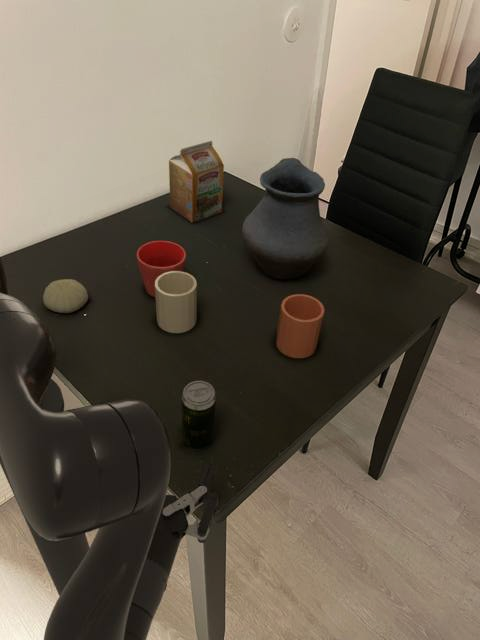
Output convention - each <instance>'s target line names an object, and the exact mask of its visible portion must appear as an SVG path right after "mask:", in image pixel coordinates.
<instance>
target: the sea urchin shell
mask: <svg viewBox="0 0 480 640" xmlns="http://www.w3.org/2000/svg"><path fill="white" fill-rule="evenodd" d="M88 299H89V294H88V290H87V289H86V288H85V287H84V285H83V284H82V283H81V282H78V280H76V279H72V278H71V279H70V278H69V279H66V278H65V279H64V278H63V279H57V280H54V281H51V282H50V283H49V284H48V286H46V288H45V289H44V292H43V296H42V301H43V305H44V307H46V308H47V310H50V311H52V312H56V313H59V314H73V312H76V311H78V310H80V309H81V308H82V307H84V306H85V304H86V303H88Z"/></svg>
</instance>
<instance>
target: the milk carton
mask: <svg viewBox="0 0 480 640" xmlns="http://www.w3.org/2000/svg"><path fill="white" fill-rule="evenodd" d="M224 171H225V164H224V162H223V160H222V158H221V157H220V155H219V153H218V152H217V150H216V149H215V147H214V146H213V141H212V140H208V141H204V142H201V143H196V144H194V145H193V144H192V145H190V146H186V147H182V148H180V149H179V154H176V155H173V156H172V157H170V158H169V159H168V176H169V177H168V178H169V207H170V208H171V209H172V210H173V211H175V212H177V213H178V214H179V215H181V216H182V217H184V218H185V219H187V220H188V221H189V222H191V223H192V224H193V223H195V222H198V221H201V220H203V219H206V218H209V217H212V216H214V215H217V214H220V213H222V212H223V193H224V174H225V173H224Z"/></svg>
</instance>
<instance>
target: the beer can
mask: <svg viewBox="0 0 480 640" xmlns="http://www.w3.org/2000/svg"><path fill="white" fill-rule="evenodd" d="M182 391H183V392H182V393H181V427H182V428H181V434H182V435H181V437H182V440H183V442H184V444H185V446H186V447H188V448H189V449H190V450H193V451H202V450H205V449H207V448H209V446H210V445H211V444H212V443H213V441H214V439H215V428H216V427H215V424H216V404H217V395H216V391H215V388H214V387H213V385H212V384H211V383H210V382H207V381H204V380H194V381H191V382H189V383H188V384H187V385H185V387H184V388H183V390H182Z"/></svg>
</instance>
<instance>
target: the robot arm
mask: <svg viewBox="0 0 480 640" xmlns="http://www.w3.org/2000/svg"><path fill="white" fill-rule="evenodd" d="M56 345H57V344H56V342H55V339H54V337H53V335H52V333H51V332H50V330H49V328H48V327H47V325H45V323H43V322H42V321H41V319H40V318H39V317H38V316H37V314H36V313H35V312H34V311H33V310H32V308H30V306H28V305H27V304H25V302H23V301H21V300H20V299H18V298H16V297H15V296H13V295H11V294H10V289H9V283H8V281H7V275H6V271H5V268H4V265H3V260H2V257H0V455H1V458H2V461H3V464H4V466H5V469H6V472H7V474H8V477H9V480H10V483H11V485H12V488H13V490H14V493H15V495H16V498H17V500H18V503H19V505H20V507H21V509H22V511H23V513H24V515H25V517H26V519H27V520H28V522H29V524H30V525H31V526H32V528H33V529H34V530H35V531H36V532H37V533H38V534H39V535H40V536H42V537H44V538H45V539H47V540H53V541H57V540H64V539H69V538H72V537H75V536H78V535H81V534H84V533H85V534H86V533H90V532H93V531H96V530H97V532H96V534H95V537H94V538H93V539H92V542H91V544H90V545H89V550H88V551H87V553H86V555H85V556H84V558H83V560H82V561H81V563H80V565H79V566H78V568H77V569H76V571H75V572H74V574H73V575H72V577H71V579H70V580H69V582H68V583H67V585H66V587H65V588H64V590H63V591H62V593H61V595H60V596H59V597H58V598H57V600H56V601H55V604H54V606H53V608H52V610H51V613H50V615H49V618H48V621H47V623H46V627H45V630H44V635H43V640H147V639H148V635H149V632H150V629H151V626H152V623H153V620H154V617H155V615H156V613H157V610H158V609H159V606H160V604H161V601H162V599H163V597H164V593H165V592H166V590H167V587H168V581H169V578H170V575H171V571H172V569H173V565H174V562H175V559H176V556H177V553H178V550H179V547H180V543H181V541H182V539H183V538H184V537H185V536H186V535H187V536H190V537H193V538H196V539H197V542H198V543H200V544H204V543H206V542H207V540H208V536H209V534H210V531H211V529H212V525H213V523H214V520H215V516H216V513H217V511H218V508H219V498H220V497H219V495H218V493H216V492H212V491H210V489H211V486H212V482H213V479H214V469H213V468H212V467H211V463H206V462H205V464H204V466H203V470H202V472H201V475H200V479H199V482H198V487H197V488H195V490H193V491H191V492H188V493H186V494H184V495H182V496H181V497H180V498H178V497H177V495H173V494H168V493H167V492H168V488H169V484H170V480H171V479H170V478H171V469H172V468H171V467H172V450H171V441H170V438H169V433H168V431H167V429H166V427H165V426H166V425H165V424H164V422H163V420H162V418H161V417H160V415H159V414H158V412H157V411H156V410H155V409H154V407H152V406H151V404H149V403H147V402H145V401H144V400H140V399H136V398H127V399H119V400H112V401H107V402H103V403H96V404H92V405H91V404H90V405H87V406H81V407H76V408H72V409H71V408H70V409H66V410H64V411H61V412H51V411H48V410H45V409H44V408H42V406H41V404H42V399H41V398H42V396H43V394H44V392H45V390H46V388H47V386H48V384H49V382H50V379H52V377H53V375H54V372H55V368H56V364H57V346H56ZM16 498H15V499H16ZM17 500H16V501H17ZM18 503H17V504H18ZM203 504H204V505H205V508H204V510H203V514H202V516H201V519H200V518H197V519H196V520H195V521H194V522H193V523H192V524H189V520H188V517H189V516H190V515H192V514H193V513H194V512H195V511H196V509H197V508H199V507H200V506H202V505H203ZM19 505H18V506H19ZM20 507H19V508H20ZM21 509H20V510H21Z"/></svg>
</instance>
